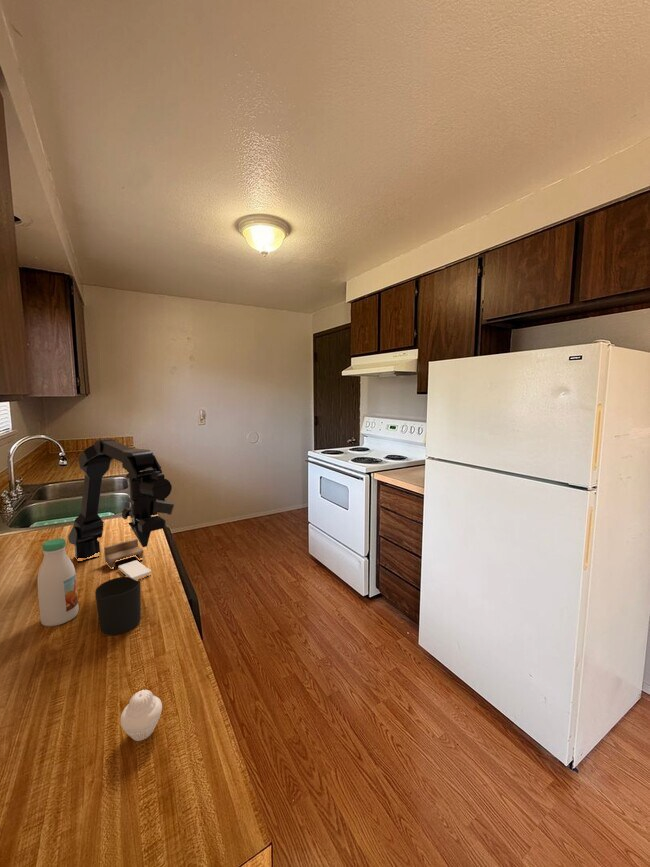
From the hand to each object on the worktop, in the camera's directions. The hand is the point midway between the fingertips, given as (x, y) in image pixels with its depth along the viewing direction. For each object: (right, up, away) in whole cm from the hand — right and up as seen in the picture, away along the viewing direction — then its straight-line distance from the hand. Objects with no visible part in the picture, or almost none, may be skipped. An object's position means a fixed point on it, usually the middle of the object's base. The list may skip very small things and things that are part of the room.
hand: (144, 546), depth 105 cm
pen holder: (+3, -14, -17) cm, 22 cm away
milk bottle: (-14, -14, -14) cm, 24 cm away
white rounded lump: (+22, -17, -45) cm, 53 cm away
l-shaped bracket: (-14, -11, +15) cm, 23 cm away
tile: (-8, -12, +9) cm, 16 cm away
